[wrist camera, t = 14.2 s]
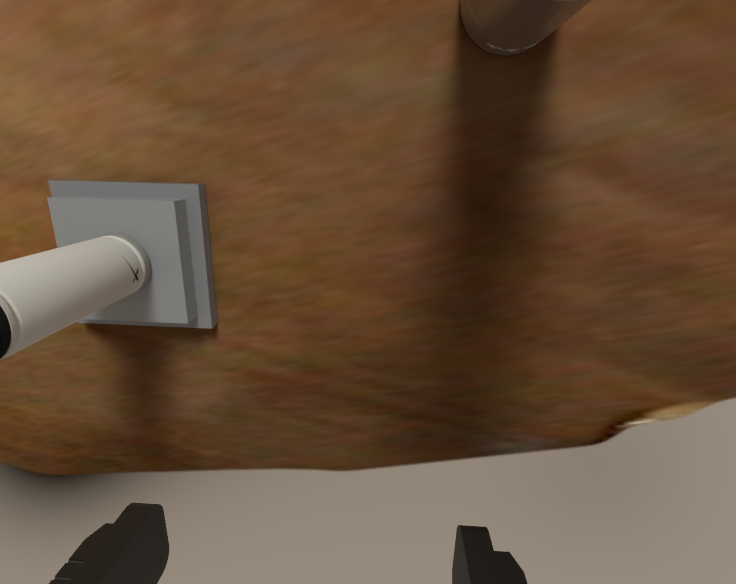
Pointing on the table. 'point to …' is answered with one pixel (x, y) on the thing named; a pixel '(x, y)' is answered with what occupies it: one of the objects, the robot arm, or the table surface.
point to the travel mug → (66, 287)
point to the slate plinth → (146, 245)
